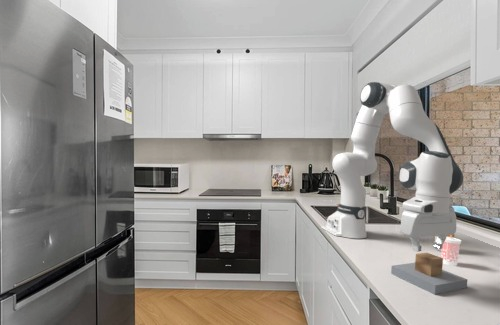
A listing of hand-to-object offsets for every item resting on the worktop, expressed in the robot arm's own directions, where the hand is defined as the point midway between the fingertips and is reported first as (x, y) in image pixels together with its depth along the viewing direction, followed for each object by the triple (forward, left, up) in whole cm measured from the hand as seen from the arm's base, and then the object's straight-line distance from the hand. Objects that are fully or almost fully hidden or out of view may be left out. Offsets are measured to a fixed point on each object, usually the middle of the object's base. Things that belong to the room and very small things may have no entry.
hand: (427, 249), depth 86 cm
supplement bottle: (-19, +37, -10) cm, 43 cm away
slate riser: (0, 0, -9) cm, 9 cm away
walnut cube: (0, 0, -7) cm, 7 cm away
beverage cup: (-8, +23, -10) cm, 26 cm away
